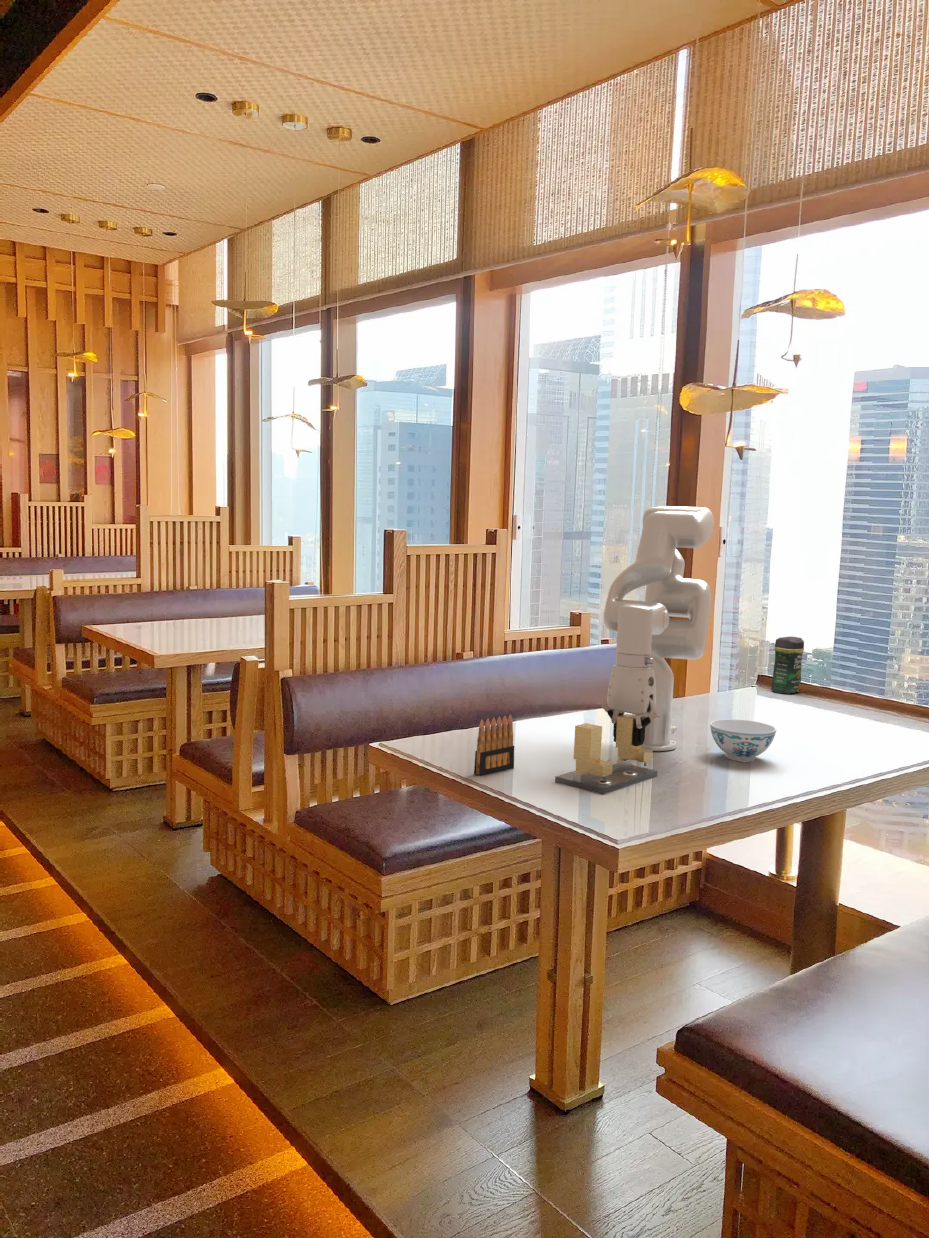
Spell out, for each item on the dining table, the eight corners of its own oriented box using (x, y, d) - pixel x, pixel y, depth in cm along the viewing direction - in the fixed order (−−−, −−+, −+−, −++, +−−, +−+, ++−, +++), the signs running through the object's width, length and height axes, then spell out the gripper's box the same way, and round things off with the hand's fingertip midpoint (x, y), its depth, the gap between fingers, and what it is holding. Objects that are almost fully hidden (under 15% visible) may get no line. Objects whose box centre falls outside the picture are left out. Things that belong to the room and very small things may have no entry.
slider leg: (624, 758, 220) (626, 713, 219) (652, 764, 215) (654, 719, 214) (614, 761, 217) (617, 716, 216) (642, 767, 212) (645, 721, 211)
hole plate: (610, 765, 221) (613, 711, 220) (657, 775, 214) (660, 720, 212) (555, 781, 206) (557, 724, 204) (603, 794, 198) (606, 734, 197)
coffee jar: (788, 695, 320) (792, 638, 318) (767, 691, 326) (771, 636, 324) (804, 692, 327) (808, 637, 325) (783, 689, 333) (787, 634, 331)
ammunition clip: (508, 766, 217) (510, 713, 216) (514, 768, 216) (516, 714, 214) (473, 774, 210) (475, 718, 208) (479, 776, 208) (481, 720, 207)
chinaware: (780, 756, 236) (782, 725, 235) (765, 769, 223) (767, 736, 222) (718, 747, 243) (720, 716, 242) (700, 759, 230) (702, 726, 229)
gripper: (676, 664, 212) (670, 747, 214) (609, 654, 223) (605, 733, 225) (658, 667, 207) (653, 753, 208) (591, 657, 218) (586, 738, 220)
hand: (628, 742), depth 217 cm, fingers open, 4 cm apart
